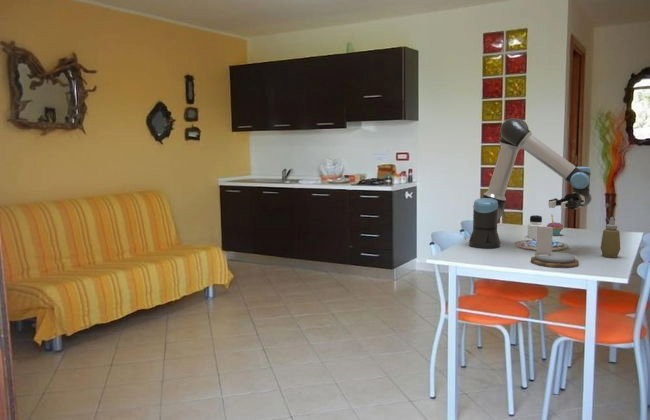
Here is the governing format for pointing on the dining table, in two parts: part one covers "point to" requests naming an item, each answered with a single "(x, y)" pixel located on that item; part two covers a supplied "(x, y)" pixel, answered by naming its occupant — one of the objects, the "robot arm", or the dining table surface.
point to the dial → (549, 248)
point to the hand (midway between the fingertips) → (555, 205)
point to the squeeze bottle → (610, 240)
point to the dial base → (554, 265)
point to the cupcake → (555, 227)
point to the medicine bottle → (534, 226)
